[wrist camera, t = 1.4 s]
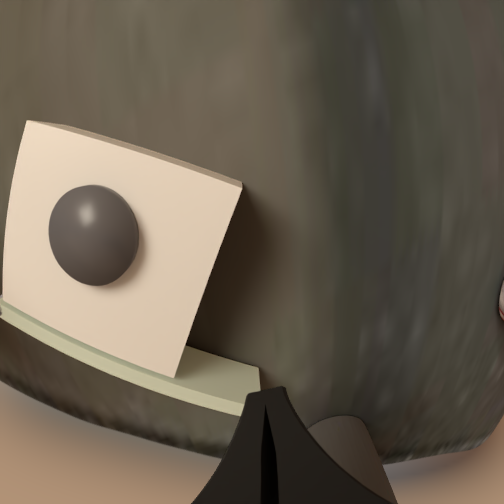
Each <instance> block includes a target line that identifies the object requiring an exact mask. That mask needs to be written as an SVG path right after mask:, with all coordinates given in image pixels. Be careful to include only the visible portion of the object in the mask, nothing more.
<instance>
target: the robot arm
mask: <svg viewBox="0 0 504 504" xmlns="http://www.w3.org/2000/svg"><path fill="white" fill-rule="evenodd" d="M191 504H393V503H391V502H389V501H388V500H386V499H384V498H383V497H381V496H379V495H378V494H376V493H374V492H373V491H372V490H370V489H369V488H367V487H366V486H364V485H363V484H361V483H360V482H359V481H358V480H356V479H355V478H354V477H353V476H351V475H350V474H349V473H348V472H347V471H345V470H344V469H343V468H342V467H341V466H340V465H339V464H338V463H336V462H335V461H334V460H333V459H332V458H331V457H330V456H329V455H328V454H327V453H326V451H325V450H324V449H323V448H322V447H321V446H320V445H319V444H318V442H317V441H316V440H315V439H314V438H313V436H312V435H311V434H310V432H309V431H308V430H307V428H306V427H305V426H304V424H303V423H302V421H301V420H300V418H299V417H298V415H297V413H296V412H295V410H294V408H293V406H292V404H291V402H290V400H289V398H288V395H287V392H286V388H285V387H283V386H280V387H276V388H271V389H266V390H262V391H257V392H252V393H248V394H247V396H246V400H245V404H244V407H243V411H242V414H241V417H240V420H239V423H238V425H237V428H236V430H235V433H234V435H233V438H232V440H231V442H230V444H229V446H228V448H227V450H226V452H225V454H224V457H223V458H222V460H221V462H220V464H219V466H218V467H217V469H216V471H215V472H214V474H213V476H212V477H211V479H210V480H209V481H208V483H207V484H206V486H205V487H204V488H203V490H202V491H201V492H200V494H199V495H198V496H197V497H196V499H195V500H194V501H193V502H192V503H191Z"/></svg>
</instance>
